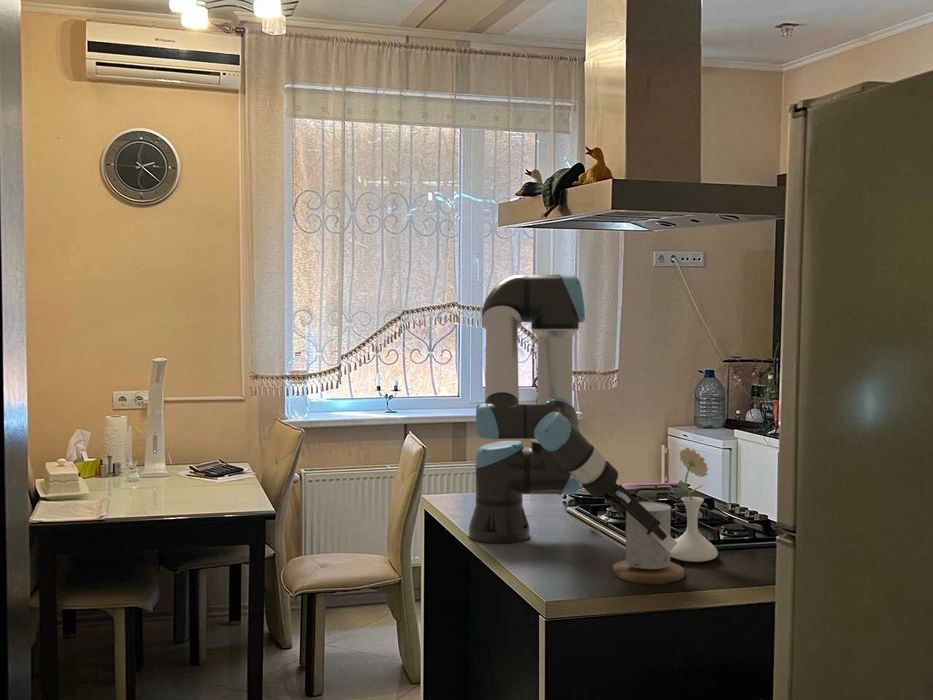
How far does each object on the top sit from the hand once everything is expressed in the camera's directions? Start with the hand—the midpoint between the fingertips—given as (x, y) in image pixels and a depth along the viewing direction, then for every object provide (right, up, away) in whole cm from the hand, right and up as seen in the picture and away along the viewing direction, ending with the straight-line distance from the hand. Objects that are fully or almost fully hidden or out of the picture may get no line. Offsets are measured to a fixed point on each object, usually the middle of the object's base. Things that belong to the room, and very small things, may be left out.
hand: (661, 541), depth 210 cm
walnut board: (-3, -7, 0) cm, 8 cm away
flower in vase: (+9, -6, +12) cm, 16 cm away
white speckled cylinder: (-3, -5, 0) cm, 6 cm away
